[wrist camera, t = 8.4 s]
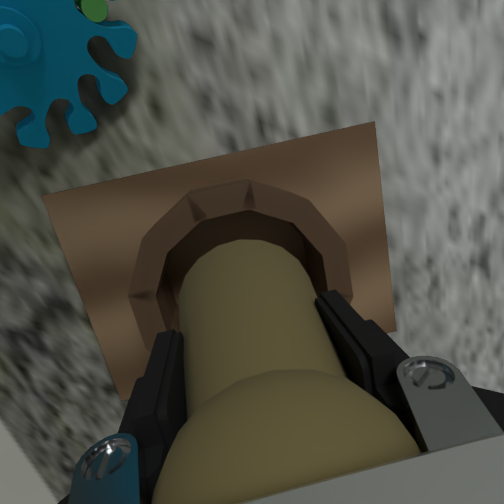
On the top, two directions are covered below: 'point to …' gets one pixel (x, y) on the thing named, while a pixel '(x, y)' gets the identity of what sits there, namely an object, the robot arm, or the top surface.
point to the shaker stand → (224, 233)
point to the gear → (56, 61)
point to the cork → (265, 386)
